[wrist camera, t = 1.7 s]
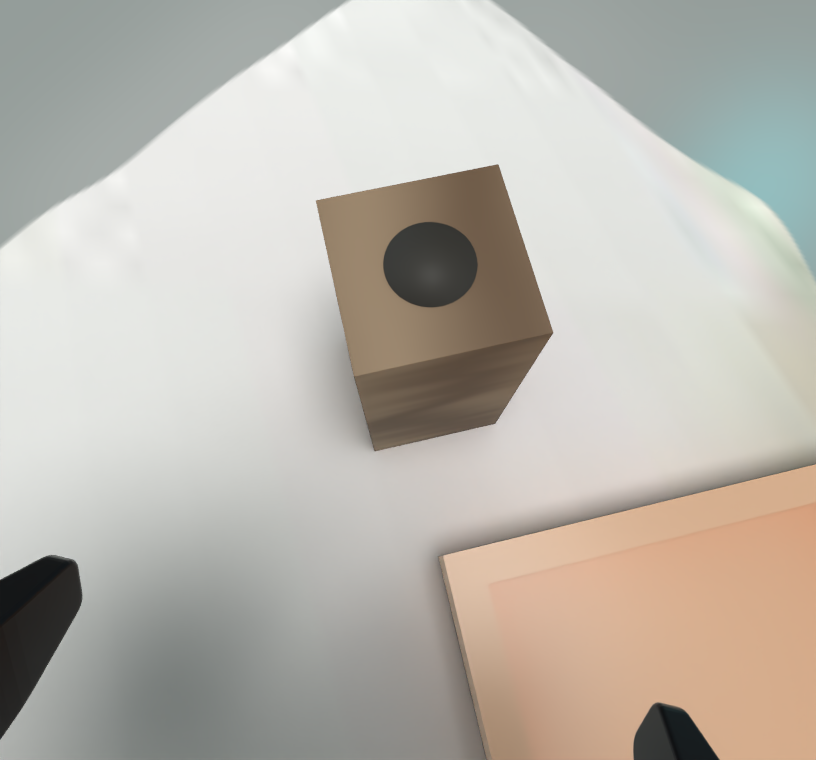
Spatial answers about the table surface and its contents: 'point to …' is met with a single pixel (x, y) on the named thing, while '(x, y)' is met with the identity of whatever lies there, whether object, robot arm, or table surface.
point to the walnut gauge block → (434, 302)
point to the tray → (648, 626)
